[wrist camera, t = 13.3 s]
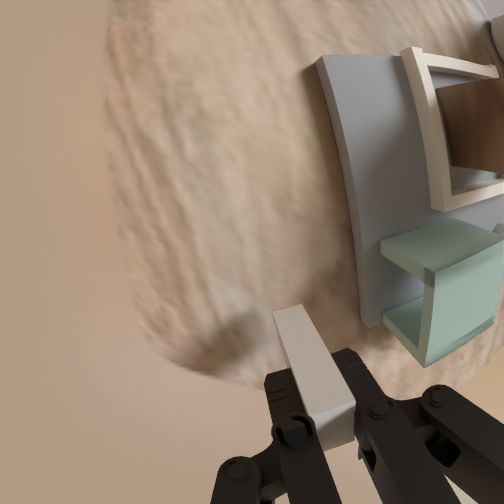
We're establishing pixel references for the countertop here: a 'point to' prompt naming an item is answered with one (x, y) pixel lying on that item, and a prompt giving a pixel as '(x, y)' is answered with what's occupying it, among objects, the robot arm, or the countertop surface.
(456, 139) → the block
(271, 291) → the countertop surface
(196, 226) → the countertop surface
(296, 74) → the countertop surface
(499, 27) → the beverage can
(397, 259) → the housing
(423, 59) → the jig board
